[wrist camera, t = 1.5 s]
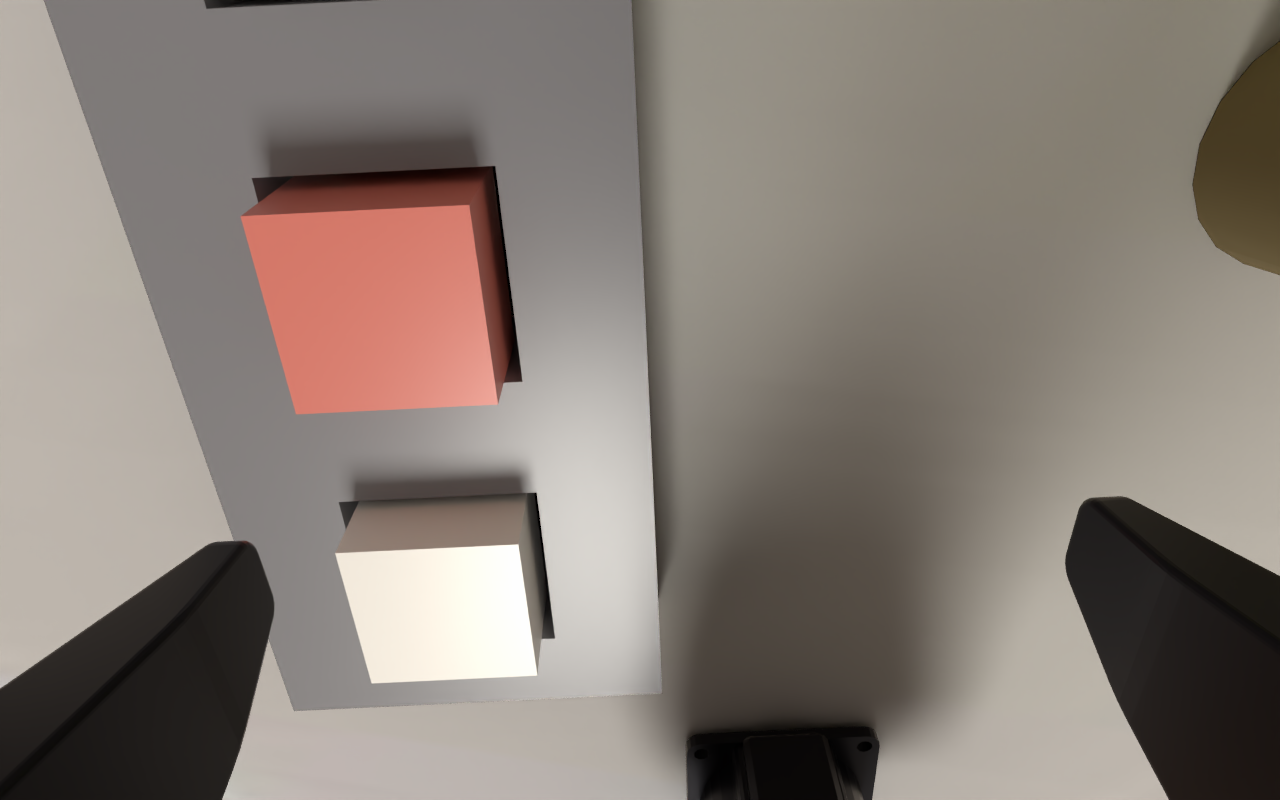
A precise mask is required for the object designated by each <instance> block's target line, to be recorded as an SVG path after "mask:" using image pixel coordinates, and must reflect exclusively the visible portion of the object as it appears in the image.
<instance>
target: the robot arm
mask: <svg viewBox="0 0 1280 800" xmlns="http://www.w3.org/2000/svg"><path fill="white" fill-rule="evenodd" d="M1065 566H1066V573H1067V577H1068V580H1069V582H1070V585H1071V587H1072V590H1073V592H1074V595H1075V597H1076V600H1077V602H1078V605H1079V607H1080V610H1081V612H1082V615H1083V617H1084V620H1085V622H1086V625H1087V627H1088V630H1089V632H1090V635H1091V637H1092V640H1093V642H1094V645H1095V647H1096V650H1097V653H1098V655H1099V658H1100V660H1101V663H1102V665H1103V668H1104V670H1105V673H1106V675H1107V678H1108V680H1109V683H1110V685H1111V687H1112V689H1113V692H1114V694H1115V696H1116V699H1117V701H1118V703H1119V705H1120V707H1121V709H1122V711H1123V713H1124V715H1125V717H1126V719H1127V721H1128V723H1129V725H1130V727H1131V729H1132V731H1133V733H1134V734H1135V736H1136V738H1137V740H1138V742H1139V744H1140V746H1141V748H1142V750H1143V751H1144V753H1145V755H1146V757H1147V759H1148V761H1149V763H1150V765H1151V767H1152V768H1153V770H1154V772H1155V774H1156V776H1157V778H1158V780H1159V782H1160V783H1161V785H1162V787H1163V789H1164V791H1165V793H1166V795H1167V797H1168V799H1169V800H1280V576H1279V575H1277V574H1275V573H1273V572H1271V571H1269V570H1267V569H1265V568H1263V567H1261V566H1259V565H1257V564H1255V563H1253V562H1252V561H1250V560H1248V559H1246V558H1244V557H1242V556H1240V555H1238V554H1236V553H1234V552H1232V551H1230V550H1228V549H1226V548H1224V547H1222V546H1221V545H1219V544H1217V543H1215V542H1213V541H1211V540H1209V539H1207V538H1205V537H1203V536H1201V535H1199V534H1197V533H1195V532H1193V531H1192V530H1190V529H1188V528H1186V527H1184V526H1182V525H1180V524H1178V523H1176V522H1174V521H1172V520H1170V519H1168V518H1166V517H1164V516H1162V515H1161V514H1159V513H1157V512H1155V511H1153V510H1151V509H1149V508H1147V507H1145V506H1143V505H1141V504H1139V503H1137V502H1135V501H1133V500H1132V499H1129V498H1127V497H1121V496H1116V497H1097V498H1089V499H1087V500H1085V501H1084V502H1083V503H1082V505H1081V506H1080V508H1079V511H1078V514H1077V518H1076V521H1075V525H1074V528H1073V532H1072V535H1071V539H1070V542H1069V546H1068V549H1067V553H1066V559H1065ZM274 612H275V602H274V596H273V593H272V590H271V587H270V584H269V582H268V579H267V576H266V573H265V570H264V568H263V565H262V562H261V559H260V557H259V554H258V551H257V549H256V547H255V546H254V545H253V544H252V543H250V542H248V541H224V542H214V543H210V544H208V545H207V546H205V547H204V548H202V549H201V550H199V551H198V552H196V553H195V554H193V555H192V556H191V557H189V558H188V559H186V560H185V561H183V562H182V563H180V564H179V565H178V566H176V567H175V568H173V569H172V570H170V571H169V572H168V573H166V574H165V575H163V576H162V577H160V578H159V579H157V580H156V581H155V582H153V583H152V584H150V585H149V586H147V587H146V588H145V589H143V590H142V591H140V592H139V593H137V594H136V595H134V596H133V597H132V598H130V599H129V600H127V601H126V602H124V603H123V604H121V605H120V606H119V607H117V608H116V609H114V610H113V611H111V612H110V613H109V614H107V615H106V616H104V617H103V618H101V619H100V620H98V621H97V622H96V623H94V624H93V625H91V626H90V627H88V628H87V629H85V630H84V631H83V632H81V633H80V634H78V635H77V636H75V637H74V638H73V639H71V640H70V641H68V642H67V643H65V644H64V645H62V646H61V647H60V648H58V649H57V650H55V651H54V652H52V653H51V654H49V655H48V656H47V657H45V658H44V659H42V660H41V661H39V662H38V663H36V664H35V665H34V666H32V667H31V668H29V669H28V670H26V671H25V672H24V673H22V674H21V675H19V676H18V677H16V678H15V679H13V680H12V681H11V682H9V683H8V684H6V685H5V686H3V687H2V688H0V800H222V798H223V795H224V793H225V790H226V787H227V785H228V782H229V779H230V777H231V774H232V771H233V768H234V765H235V763H236V760H237V757H238V754H239V751H240V748H241V745H242V741H243V738H244V734H245V731H246V727H247V723H248V719H249V715H250V711H251V707H252V703H253V699H254V695H255V691H256V687H257V683H258V679H259V675H260V671H261V667H262V663H263V659H264V655H265V651H266V647H267V643H268V639H269V635H270V631H271V627H272V623H273V619H274ZM878 753H879V741H878V738H877V735H876V732H875V731H874V730H873V729H872V728H869V727H844V728H823V729H802V730H781V731H759V732H738V733H717V734H699V735H694V736H692V737H690V738H689V739H688V740H687V742H686V771H687V800H872V796H873V789H874V782H875V774H876V767H877V760H878Z"/></svg>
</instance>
